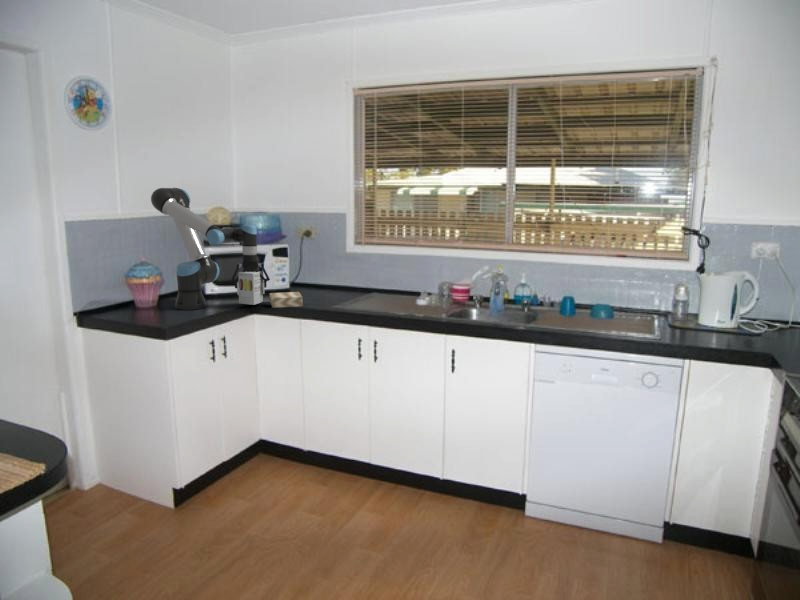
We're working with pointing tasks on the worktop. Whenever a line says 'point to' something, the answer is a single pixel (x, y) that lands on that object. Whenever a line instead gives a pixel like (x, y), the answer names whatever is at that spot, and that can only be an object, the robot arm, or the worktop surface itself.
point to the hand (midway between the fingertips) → (250, 294)
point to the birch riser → (286, 299)
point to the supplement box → (250, 287)
